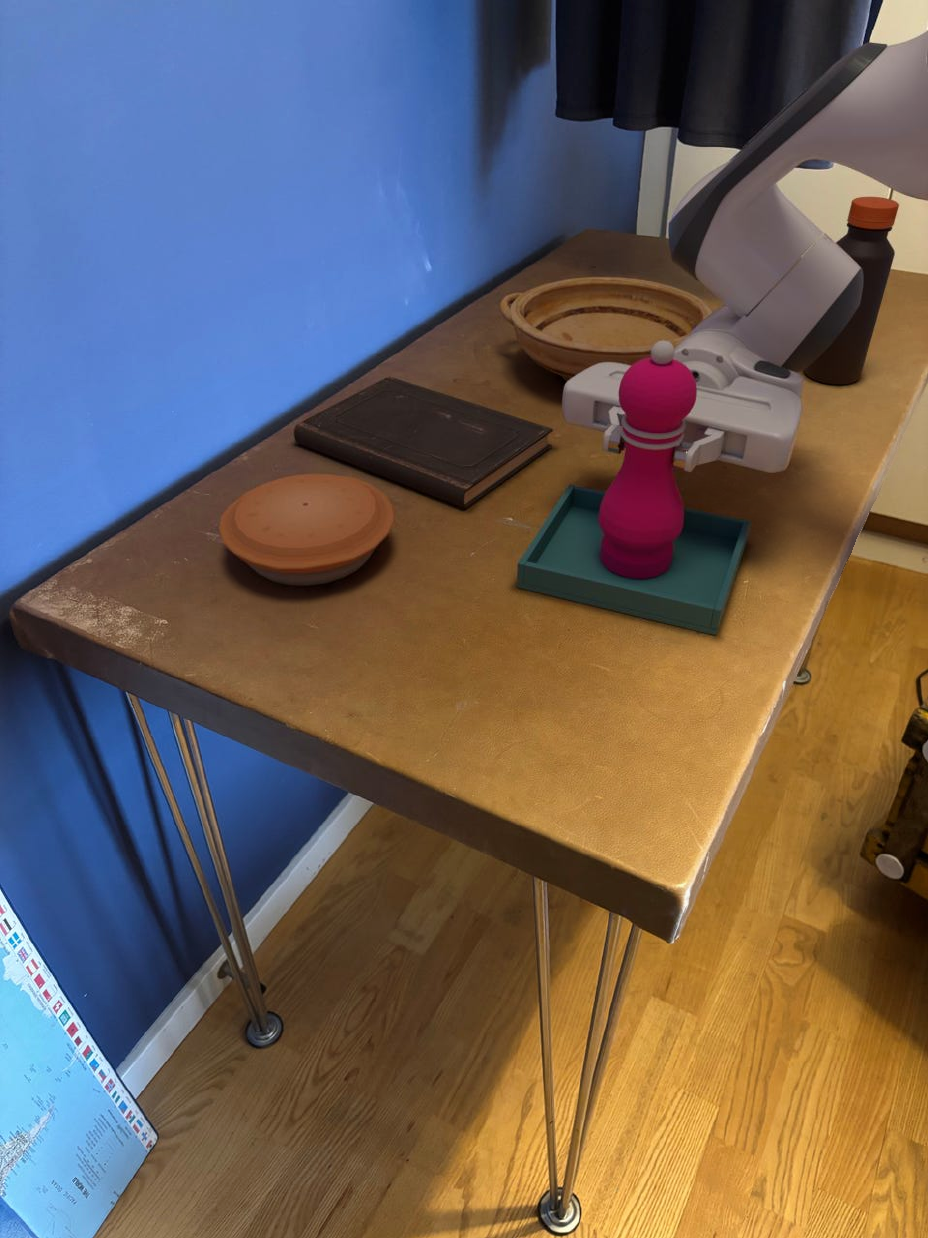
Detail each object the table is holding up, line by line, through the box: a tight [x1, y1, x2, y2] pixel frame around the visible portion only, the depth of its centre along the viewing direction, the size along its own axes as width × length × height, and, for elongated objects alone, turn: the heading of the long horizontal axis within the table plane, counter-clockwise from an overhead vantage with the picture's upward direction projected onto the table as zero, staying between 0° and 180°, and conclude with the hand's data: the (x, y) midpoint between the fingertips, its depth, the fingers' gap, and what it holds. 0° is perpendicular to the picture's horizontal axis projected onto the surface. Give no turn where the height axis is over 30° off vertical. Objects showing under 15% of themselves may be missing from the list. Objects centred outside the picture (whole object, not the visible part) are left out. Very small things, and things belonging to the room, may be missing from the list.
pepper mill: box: [598, 341, 697, 579], centre depth 75 cm, size 7×7×20 cm
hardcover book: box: [293, 375, 554, 509], centre depth 98 cm, size 16×23×2 cm
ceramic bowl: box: [499, 276, 714, 383], centre depth 111 cm, size 30×24×8 cm
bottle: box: [803, 196, 900, 386], centre depth 106 cm, size 7×7×20 cm
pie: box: [218, 473, 396, 587], centre depth 82 cm, size 15×16×5 cm
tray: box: [516, 484, 752, 636], centre depth 81 cm, size 17×14×3 cm
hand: (646, 453), depth 74 cm, fingers closed on pepper mill, 5 cm apart
